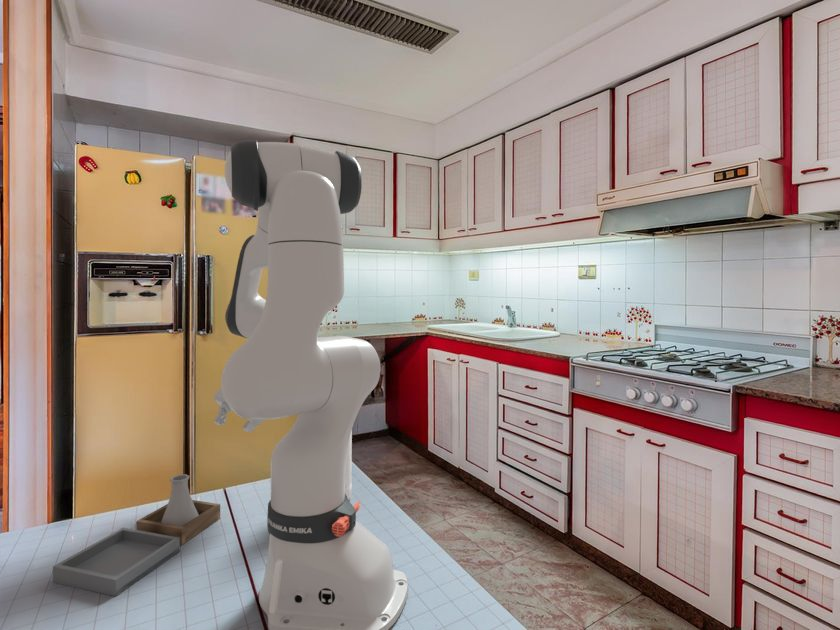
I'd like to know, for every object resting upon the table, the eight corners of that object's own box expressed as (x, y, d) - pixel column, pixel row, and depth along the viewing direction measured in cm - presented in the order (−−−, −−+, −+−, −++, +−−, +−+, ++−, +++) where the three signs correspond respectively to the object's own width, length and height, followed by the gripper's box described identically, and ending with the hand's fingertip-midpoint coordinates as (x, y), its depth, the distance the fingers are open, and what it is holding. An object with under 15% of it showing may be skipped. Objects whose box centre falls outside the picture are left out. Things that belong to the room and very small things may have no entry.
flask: (183, 539, 83) (182, 486, 83) (149, 535, 85) (148, 482, 84) (208, 520, 90) (208, 471, 90) (177, 516, 92) (177, 468, 91)
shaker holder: (220, 518, 91) (220, 504, 91) (181, 545, 81) (181, 529, 81) (178, 512, 94) (178, 497, 94) (136, 537, 84) (136, 521, 84)
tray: (179, 551, 79) (179, 537, 79) (116, 596, 67) (115, 580, 67) (123, 540, 83) (123, 527, 82) (53, 582, 71) (52, 566, 70)
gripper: (230, 363, 108) (192, 412, 100) (291, 371, 98) (255, 426, 90) (245, 379, 112) (210, 427, 104) (306, 388, 102) (272, 442, 94)
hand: (231, 427), depth 97 cm, fingers open, 8 cm apart
